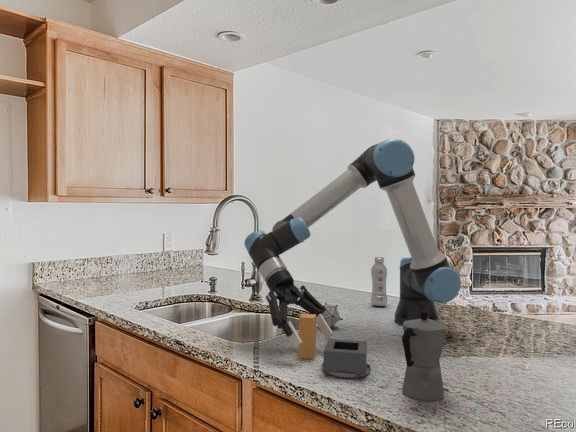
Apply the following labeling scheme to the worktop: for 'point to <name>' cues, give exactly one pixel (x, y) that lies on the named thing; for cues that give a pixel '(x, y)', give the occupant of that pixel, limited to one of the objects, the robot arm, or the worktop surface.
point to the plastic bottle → (379, 283)
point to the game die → (331, 315)
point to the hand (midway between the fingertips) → (314, 340)
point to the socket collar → (346, 359)
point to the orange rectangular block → (307, 336)
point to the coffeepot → (423, 358)
